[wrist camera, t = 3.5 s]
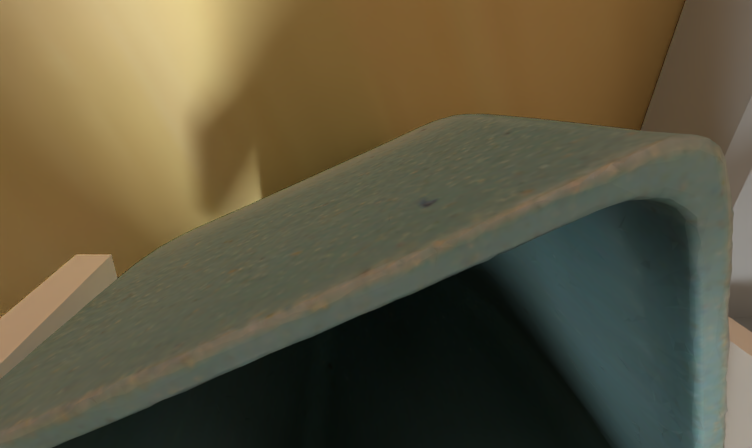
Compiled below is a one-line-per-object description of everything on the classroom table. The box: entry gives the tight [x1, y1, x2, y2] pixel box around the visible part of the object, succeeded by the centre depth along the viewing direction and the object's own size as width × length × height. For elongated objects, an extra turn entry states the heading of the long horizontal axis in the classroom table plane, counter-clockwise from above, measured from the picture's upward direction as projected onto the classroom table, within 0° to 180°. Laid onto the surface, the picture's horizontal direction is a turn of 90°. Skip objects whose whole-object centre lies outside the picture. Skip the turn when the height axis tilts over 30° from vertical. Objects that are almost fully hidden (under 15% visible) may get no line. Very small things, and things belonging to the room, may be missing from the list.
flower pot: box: [0, 114, 734, 448], centre depth 9 cm, size 9×9×9 cm
